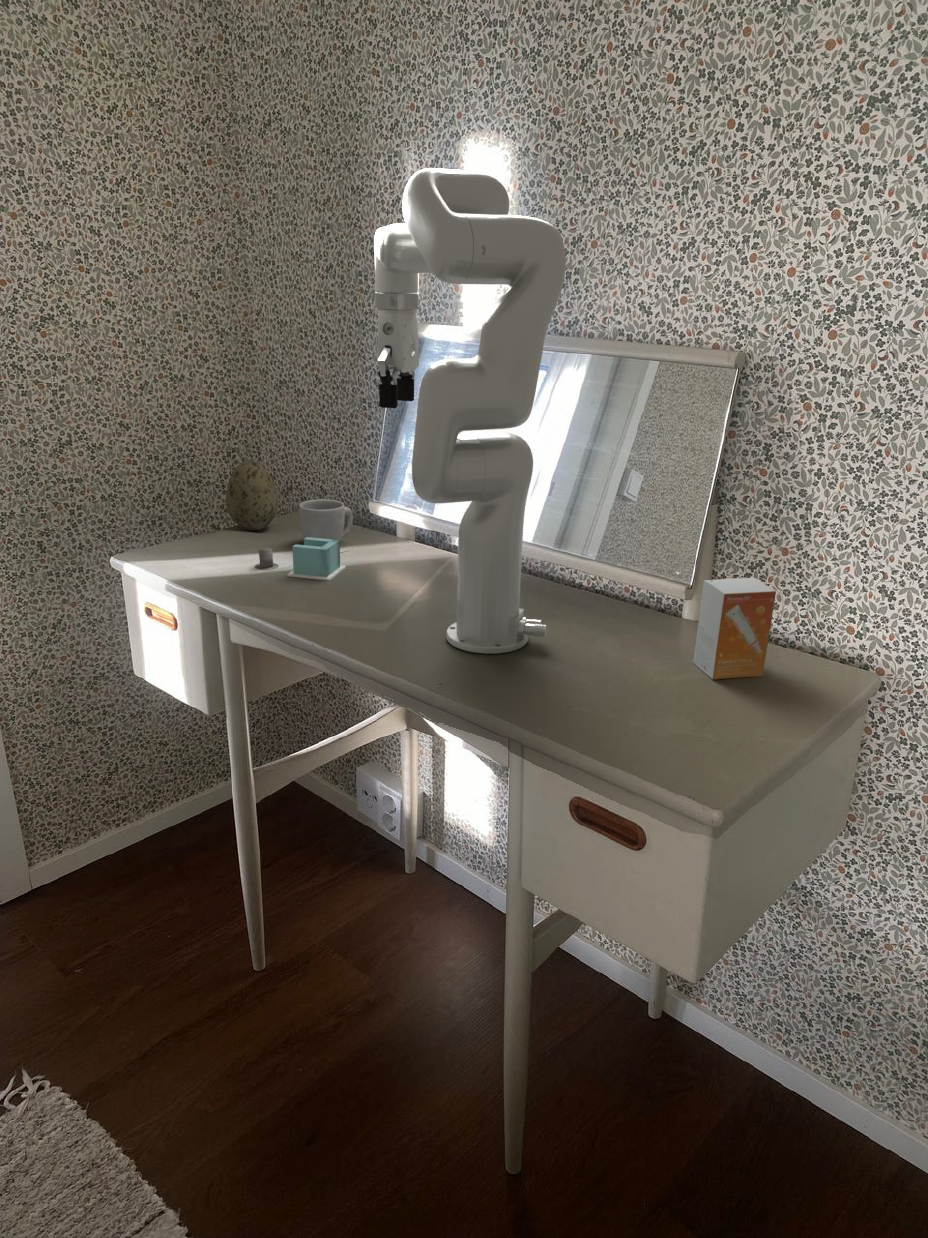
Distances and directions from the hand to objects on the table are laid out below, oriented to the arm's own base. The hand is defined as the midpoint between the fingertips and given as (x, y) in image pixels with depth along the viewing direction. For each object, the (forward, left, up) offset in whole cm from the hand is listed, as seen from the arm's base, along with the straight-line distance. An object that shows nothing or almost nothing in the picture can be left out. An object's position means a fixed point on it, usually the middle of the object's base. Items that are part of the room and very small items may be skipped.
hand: (397, 403), depth 167 cm
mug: (+16, -5, -31) cm, 35 cm away
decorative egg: (+37, -14, -31) cm, 50 cm away
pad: (+11, +13, -29) cm, 34 cm away
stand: (+16, +13, -30) cm, 37 cm away
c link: (+11, +13, -28) cm, 33 cm away
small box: (-61, +33, -31) cm, 76 cm away
